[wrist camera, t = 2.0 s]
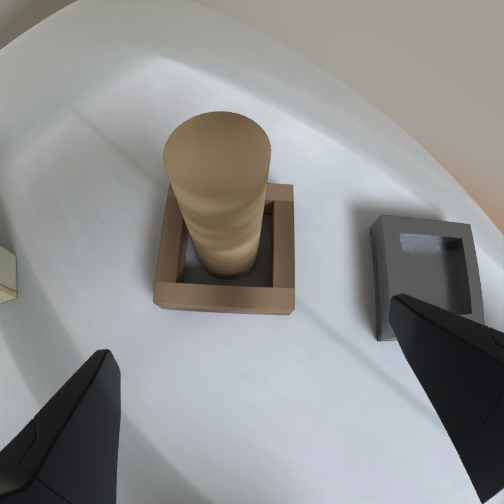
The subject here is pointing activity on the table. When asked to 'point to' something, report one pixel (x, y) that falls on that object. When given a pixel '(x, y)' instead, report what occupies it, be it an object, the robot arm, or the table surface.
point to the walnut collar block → (229, 297)
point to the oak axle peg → (220, 188)
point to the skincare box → (7, 275)
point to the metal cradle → (425, 267)
